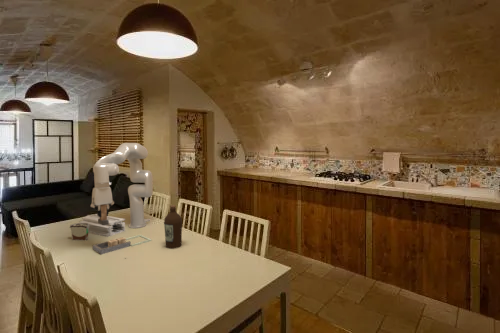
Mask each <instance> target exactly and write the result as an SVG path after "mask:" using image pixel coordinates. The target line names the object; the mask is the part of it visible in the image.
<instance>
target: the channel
mask: <svg viewBox="0 0 500 333" xmlns="http://www.w3.org/2000/svg"><path fill="white" fill-rule="evenodd" d="M114 239H115V240H116V239H117V238H114ZM108 241H109V240H107V241H103V242H100V243H96V244H95V243H94V244H93V245H92V251H94V252H96V253H98V254H99V255H104V254H108V253H112V252H115V251H118V250H122V249H125V248H128V247H132V246H131V244H132V243H131V241H129V240H128V241H126V242H125V243H122V244H118V245H114V246H110V247H108Z"/></svg>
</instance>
